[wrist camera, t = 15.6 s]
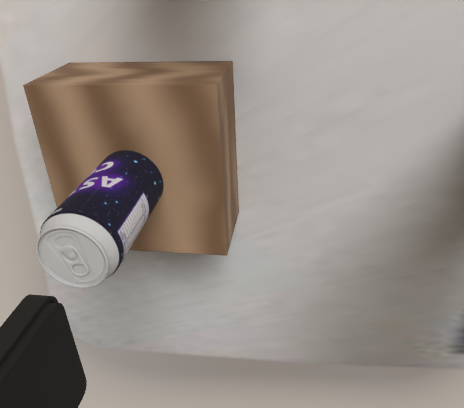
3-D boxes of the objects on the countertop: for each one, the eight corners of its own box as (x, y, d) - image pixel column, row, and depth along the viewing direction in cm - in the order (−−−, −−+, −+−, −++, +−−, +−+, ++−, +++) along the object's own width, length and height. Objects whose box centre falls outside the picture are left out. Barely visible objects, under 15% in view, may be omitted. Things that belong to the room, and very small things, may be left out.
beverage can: (150, 138, 37) (87, 213, 27) (176, 196, 39) (128, 285, 29) (92, 155, 39) (12, 232, 28) (121, 210, 41) (57, 298, 31)
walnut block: (232, 61, 41) (216, 84, 34) (238, 211, 49) (226, 255, 42) (68, 62, 43) (23, 85, 36) (100, 205, 51) (68, 246, 44)
